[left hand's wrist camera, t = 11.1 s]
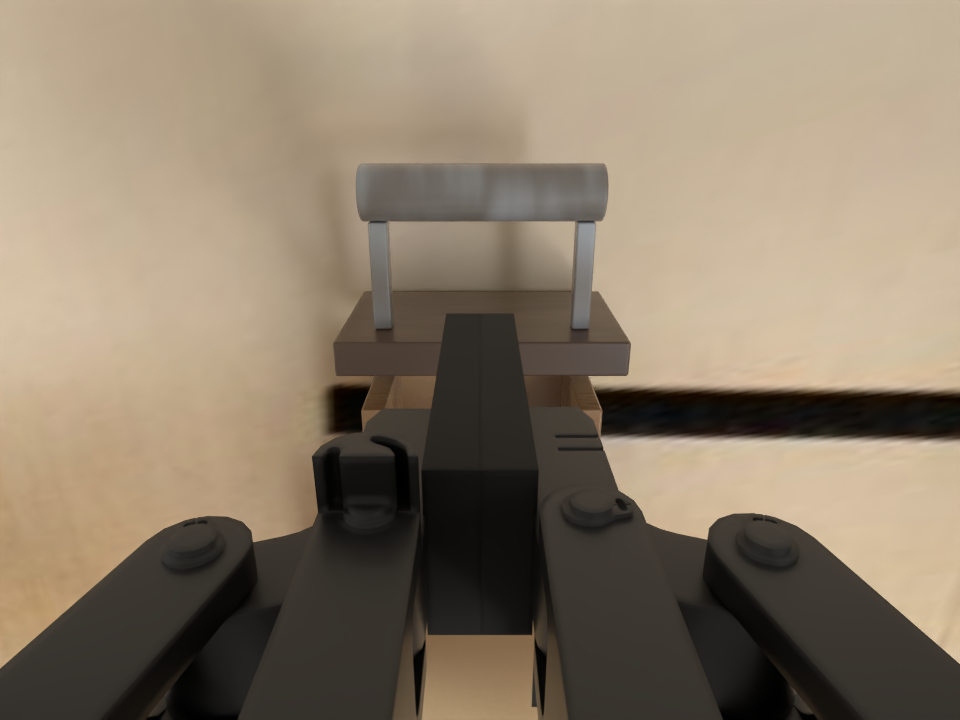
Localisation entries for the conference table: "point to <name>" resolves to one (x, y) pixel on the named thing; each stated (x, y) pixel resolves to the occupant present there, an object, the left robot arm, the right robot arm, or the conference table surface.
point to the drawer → (538, 315)
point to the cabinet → (479, 677)
